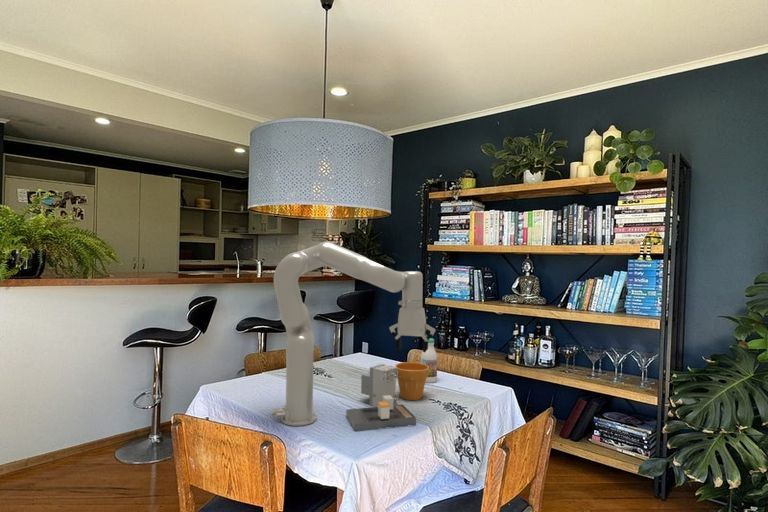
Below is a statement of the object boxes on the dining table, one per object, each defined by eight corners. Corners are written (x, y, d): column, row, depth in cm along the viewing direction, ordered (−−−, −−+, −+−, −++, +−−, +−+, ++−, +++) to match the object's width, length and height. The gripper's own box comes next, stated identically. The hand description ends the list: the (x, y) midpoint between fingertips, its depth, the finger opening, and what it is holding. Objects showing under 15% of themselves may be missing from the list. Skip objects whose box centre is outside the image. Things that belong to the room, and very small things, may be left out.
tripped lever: (381, 419, 153) (381, 405, 153) (377, 414, 157) (378, 402, 157) (389, 418, 154) (389, 405, 154) (386, 414, 158) (386, 401, 158)
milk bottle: (417, 380, 211) (417, 338, 211) (429, 377, 215) (429, 336, 215) (428, 384, 205) (428, 341, 204) (440, 381, 209) (441, 339, 209)
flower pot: (423, 391, 194) (424, 361, 194) (432, 402, 180) (432, 370, 180) (391, 392, 192) (392, 362, 192) (398, 403, 178) (398, 371, 178)
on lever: (385, 410, 162) (385, 399, 162) (382, 406, 166) (382, 395, 166) (393, 409, 163) (393, 398, 163) (390, 405, 167) (390, 395, 167)
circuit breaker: (370, 397, 185) (370, 361, 185) (397, 404, 176) (397, 367, 176) (357, 401, 180) (358, 364, 179) (385, 409, 170) (385, 371, 170)
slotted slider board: (354, 431, 150) (354, 423, 150) (346, 416, 163) (346, 409, 163) (415, 425, 156) (416, 417, 156) (402, 411, 169) (403, 404, 169)
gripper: (387, 304, 163) (386, 351, 163) (433, 306, 158) (433, 354, 158) (392, 302, 170) (392, 347, 171) (437, 304, 165) (436, 350, 166)
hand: (412, 350), depth 165 cm, fingers open, 9 cm apart
